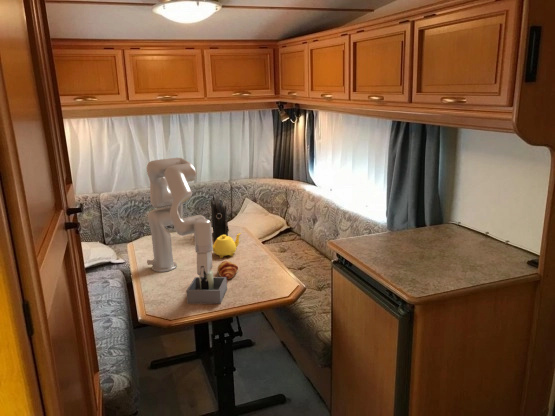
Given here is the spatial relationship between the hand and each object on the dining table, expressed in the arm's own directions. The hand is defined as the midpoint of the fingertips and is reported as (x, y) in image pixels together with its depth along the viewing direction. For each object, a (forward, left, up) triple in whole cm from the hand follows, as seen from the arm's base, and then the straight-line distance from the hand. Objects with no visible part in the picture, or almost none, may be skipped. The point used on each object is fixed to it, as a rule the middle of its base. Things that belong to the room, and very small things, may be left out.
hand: (207, 285), depth 203 cm
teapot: (-3, +54, -5) cm, 54 cm away
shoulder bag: (-12, +85, -5) cm, 86 cm away
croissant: (+4, +26, -5) cm, 27 cm away
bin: (0, 0, -5) cm, 5 cm away
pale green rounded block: (0, 0, -2) cm, 2 cm away
